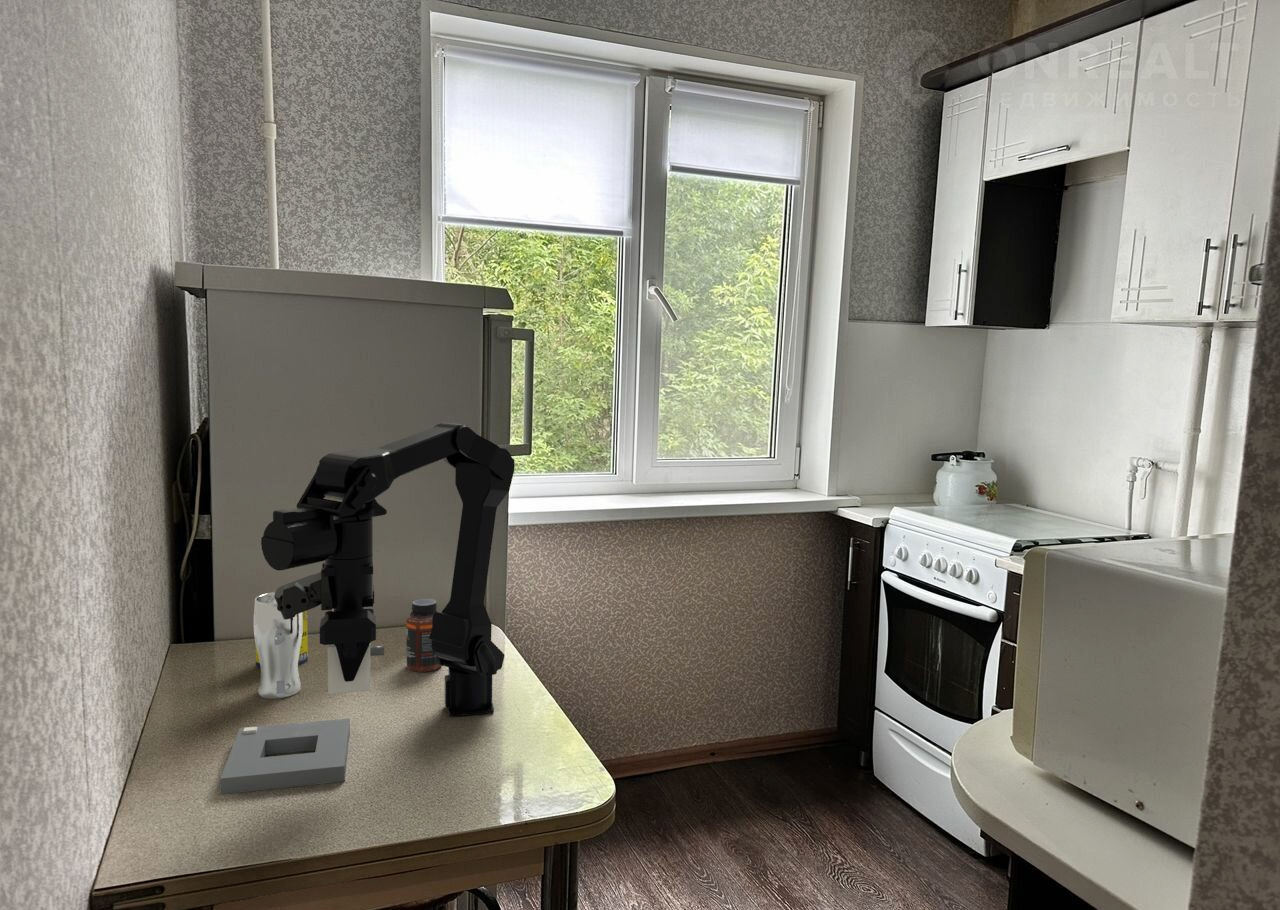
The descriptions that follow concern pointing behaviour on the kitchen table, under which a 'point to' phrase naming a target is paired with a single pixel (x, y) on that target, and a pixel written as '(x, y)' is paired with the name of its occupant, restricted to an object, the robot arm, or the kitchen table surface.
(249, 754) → the socket plate
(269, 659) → the beer glass
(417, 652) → the supplement bottle
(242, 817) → the kitchen table surface
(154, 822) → the kitchen table surface
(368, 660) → the plug
